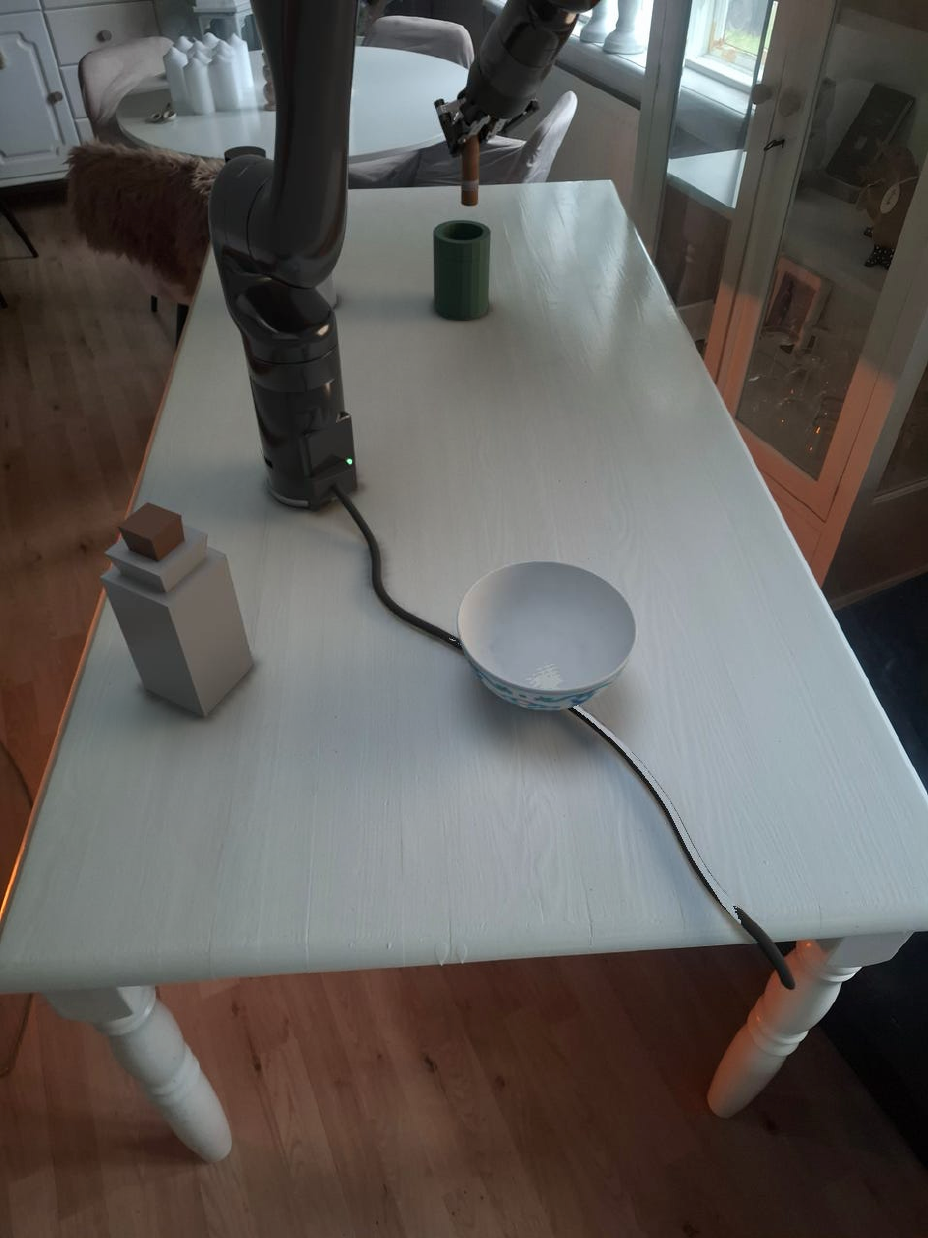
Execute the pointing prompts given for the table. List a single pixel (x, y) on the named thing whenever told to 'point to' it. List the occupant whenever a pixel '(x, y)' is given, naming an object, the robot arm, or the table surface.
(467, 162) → the brown banded cylinder
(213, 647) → the perfume bottle
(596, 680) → the chinaware
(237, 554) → the table surface
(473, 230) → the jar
